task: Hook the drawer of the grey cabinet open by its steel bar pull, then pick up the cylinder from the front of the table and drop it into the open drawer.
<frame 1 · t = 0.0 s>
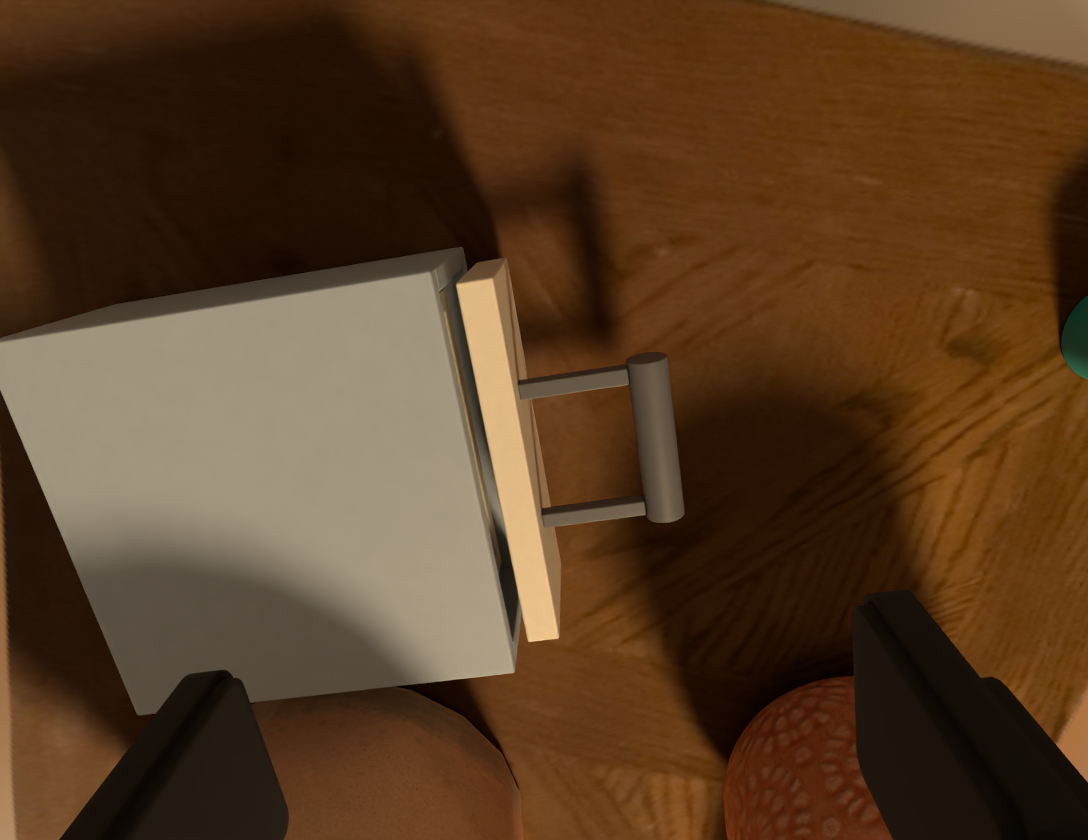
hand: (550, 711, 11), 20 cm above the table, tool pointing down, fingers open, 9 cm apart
grey cabinet: (331, 444, 31), on the table
planter: (831, 742, 36), on the table
pottery: (365, 804, 38), on the table
drawer: (424, 460, 27), point 4 cm above the table, slide at 0.5 cm
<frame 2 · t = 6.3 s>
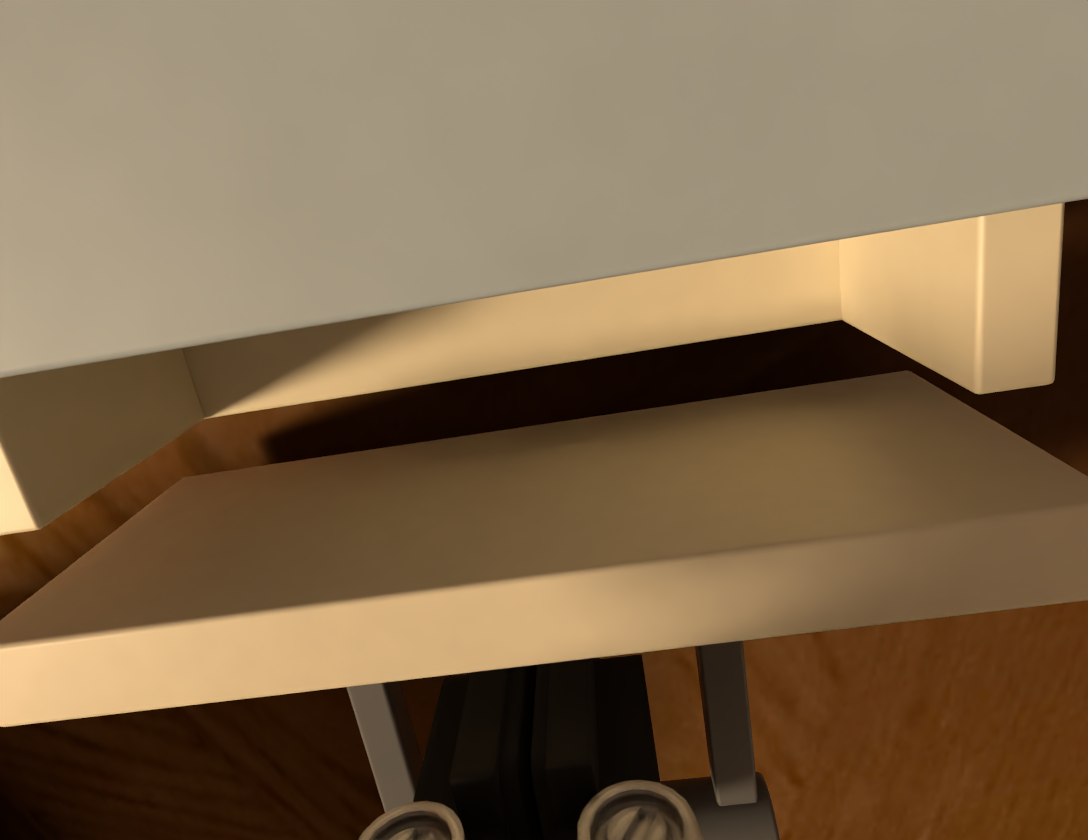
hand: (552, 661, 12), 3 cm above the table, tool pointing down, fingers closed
drawer: (479, 284, 10), point 4 cm above the table, slide at 3.3 cm, touching gripper
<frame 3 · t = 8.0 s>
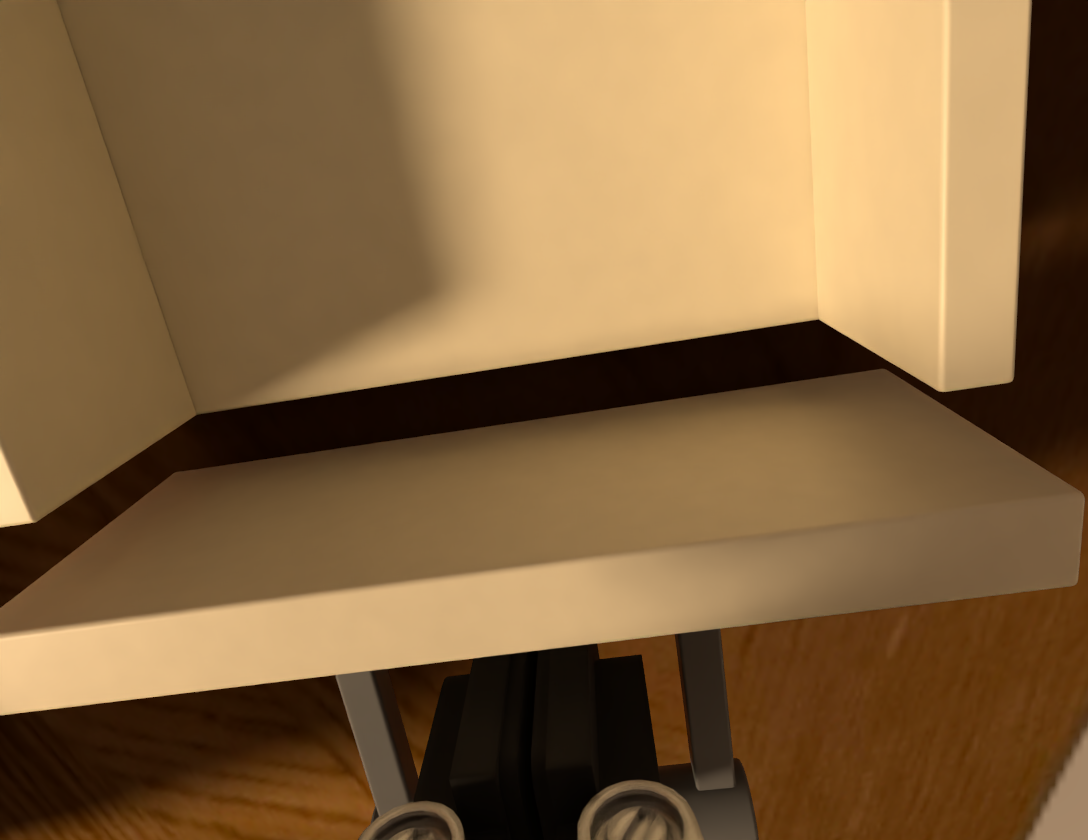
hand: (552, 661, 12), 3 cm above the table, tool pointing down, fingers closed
drawer: (464, 284, 10), point 4 cm above the table, slide at 8.9 cm
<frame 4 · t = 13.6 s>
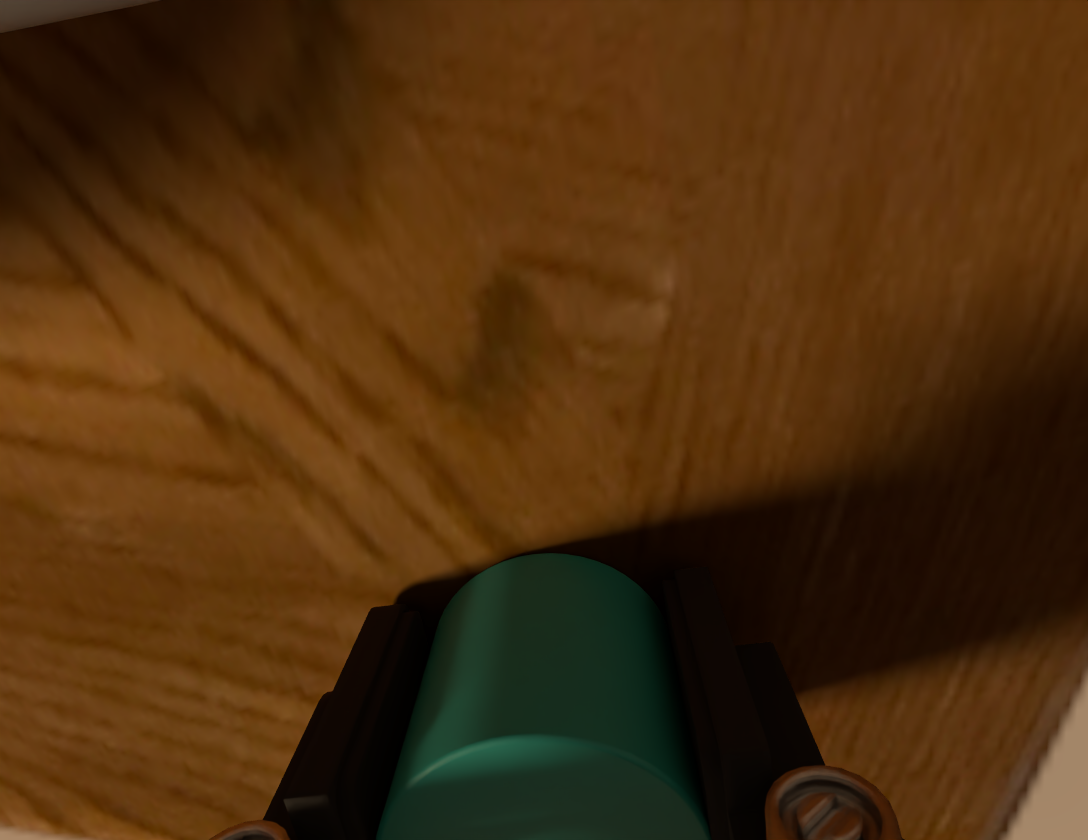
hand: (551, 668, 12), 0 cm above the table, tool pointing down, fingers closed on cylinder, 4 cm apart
cylinder: (552, 656, 12), on the table, touching gripper
when the fingers open (6 cm above the table, at t = 19.4 s): cylinder drops 4 cm, resting on drawer.
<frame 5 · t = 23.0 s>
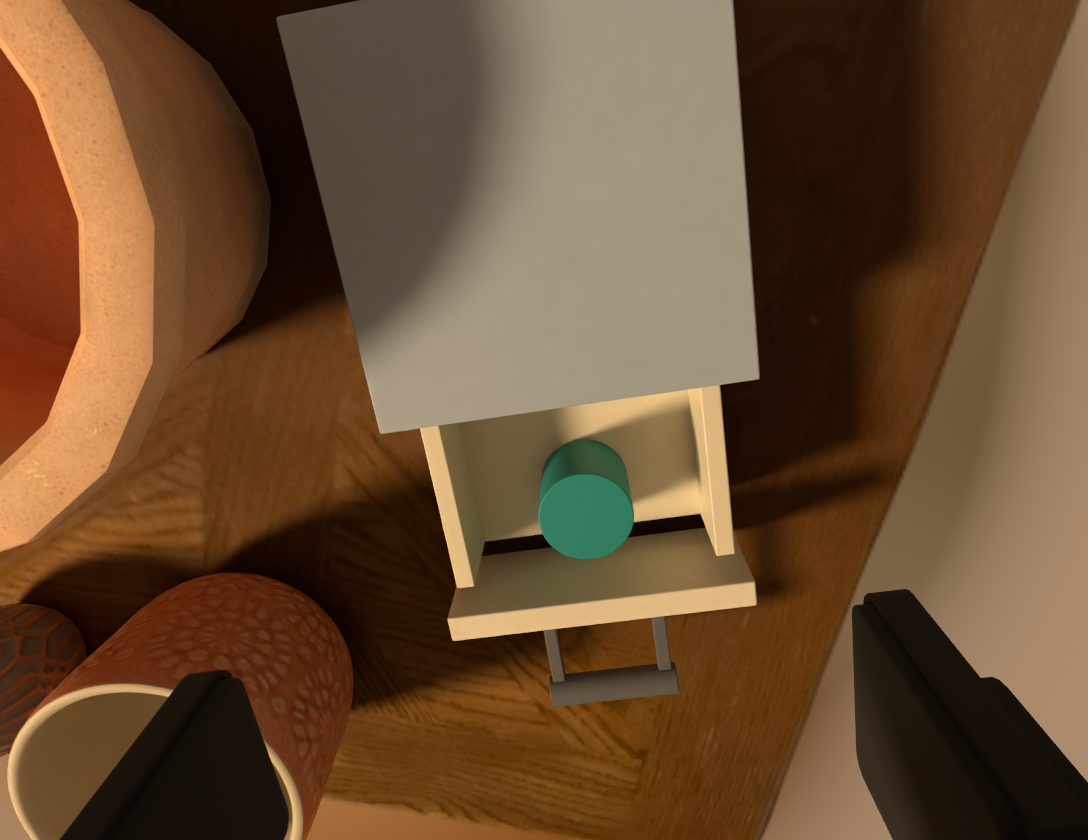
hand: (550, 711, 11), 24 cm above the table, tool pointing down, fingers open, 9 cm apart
vase: (49, 634, 41), on the table
cylinder: (584, 479, 34), point 2 cm above the table, touching drawer
grey cabinet: (541, 201, 32), on the table
planter: (264, 640, 40), on the table
pottery: (91, 196, 33), on the table
drawer: (587, 511, 33), point 4 cm above the table, slide at 9.1 cm, touching cylinder
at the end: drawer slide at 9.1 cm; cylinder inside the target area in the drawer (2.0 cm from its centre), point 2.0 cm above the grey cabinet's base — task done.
